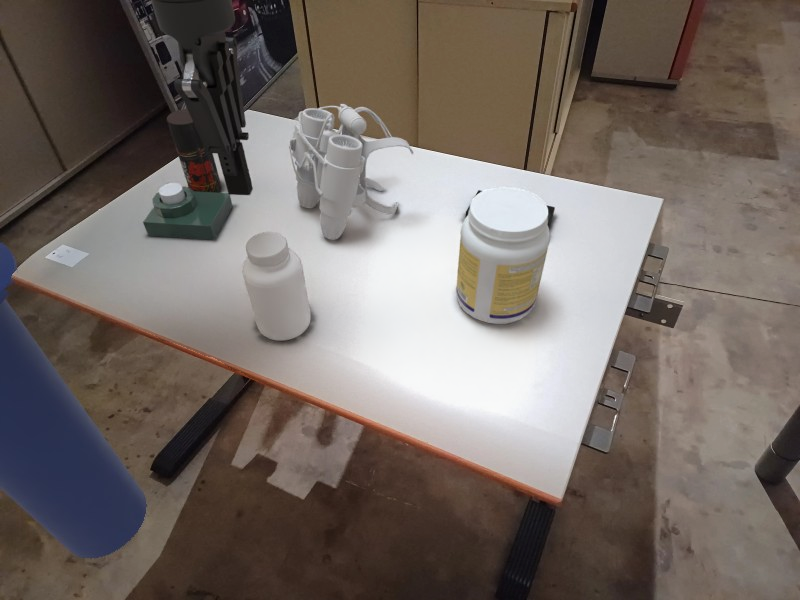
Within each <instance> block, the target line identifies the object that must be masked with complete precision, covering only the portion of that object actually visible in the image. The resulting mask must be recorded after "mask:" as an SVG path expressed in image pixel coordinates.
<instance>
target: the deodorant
mask: <svg viewBox="0 0 800 600" xmlns="http://www.w3.org/2000/svg"><path fill="white" fill-rule="evenodd" d="M166 121H167V125H168V127H169V131H170V135H171V138H172V140H173V144H174V146H175V150H176V153H177V155H178V159H179V162H180V165H181V168H182V172H183V174H184V177H185V181H186V184H187V187H188V188H190V189H192V190H193V191H198V192H216V193H221V191H222V190H223V187H222V183H221V178H220V175H219V171H218V168H217V164H216V161H215V157H214V153H207V152H206V150H205V147H204V145H203V143H202V141H201V138H200V136H199V134H198V132H197V129H196V127H195V125H194V122H193V120H192V118H191V116H190V113H189V111H188V109H187V108H182V109H178V110H175V111H173V112H170V113H169V114H168V116H167V117H166Z"/></svg>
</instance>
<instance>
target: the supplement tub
mask: <svg viewBox="0 0 800 600" xmlns="http://www.w3.org/2000/svg"><path fill="white" fill-rule="evenodd" d="M481 191H482V192H480V193H479V194H477V195H476V194H475V195H476V196H475V195H474V197H473V198H472V200H471V201H470V203H469V206H470V209H469V212H468V216H467V217H466V218H465V217H464V220H463V221H462V225H461V228H460V232H459V233H460V234H459V235H460V237H459V239H460V240H459V250H458V264H457V266H458V267H457V277H456V287H455V294H456V297H457V298H456V299H457V301H458V303H459V305H460V307H461V309H462V310H463V311H464V312H465V313H466V314H467V315H468V316H471V318H474V319H476V320H478V321H481V322H484V323H488V324H492V325H493V324H495V325H505V324H511V323H515V322H518V321H520V320H522V319H524V318H525V317H526V316H528V315H529V314H530V313H531V312H532V310H533V309H534V307H535V305H536V303H537V300H538V295H539V294H538V293H539V290H540V286H541V285H540V284H541V281H542V276H543V272H544V267H545V263H546V260H547V259H546V258H547V254H548V250H549V246H550V242H551V231H550V227H549V228H548V225H547V224H548V208H547V206H546V205H547V204H546V202H545V201H544V200H543V198H541V197H540V196H539V195H537V194H535V193H533V192H531V191H528V190H527V189H523V188H519V187H515V186H496V187H490V188H487V189H484V190H481Z"/></svg>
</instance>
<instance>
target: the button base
mask: <svg viewBox="0 0 800 600" xmlns="http://www.w3.org/2000/svg"><path fill="white" fill-rule="evenodd" d="M182 187H183V190H184V193H185V196H186V198H185V200H183V201H182V202H180V203H177V204H173V205H167V204H164V203H163V202H162V200H161V197H160V195H159V191H158V192H156V193H155V195H154V196H153V198H152V199H151V200H152V205H153V207H152V209H151V210H150V212H149V213H148V215H147V216H146V217H145V219H144V220H143V222H142V223H143V226H144V228H145V230H146V233H147V235H148V237H159V238H160V237H162V238H177V239H179V238H180V239H195V240H211V241H215V240H216V239H217V237H218V235H219V233H220V231H221V230H222V227H223V225H224V224H225V222H226V220H227V219H228V216H229V215H230V213H231V211H232V209H233V208H234V206H233V202H232V198H231V195H229V194H228V192H219V193H216V192H198V191H193V190H192V189H190V188H189V187H188V186H183V185H182Z"/></svg>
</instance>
